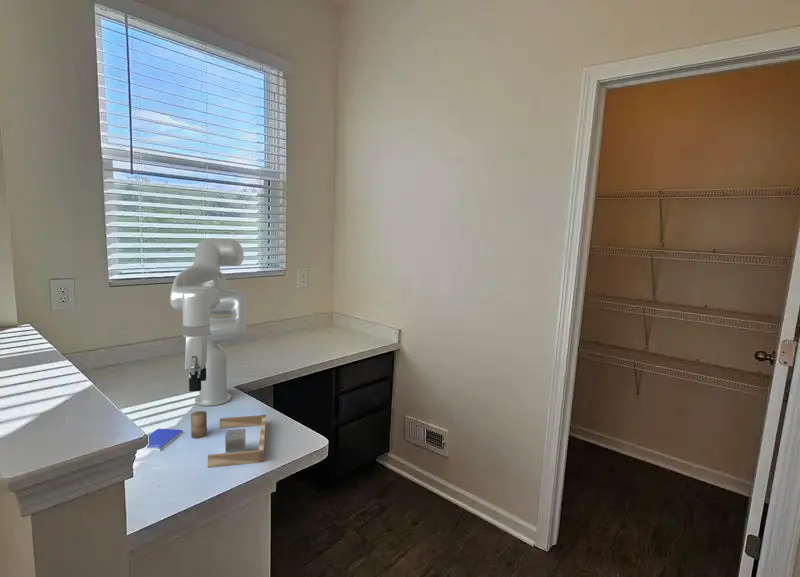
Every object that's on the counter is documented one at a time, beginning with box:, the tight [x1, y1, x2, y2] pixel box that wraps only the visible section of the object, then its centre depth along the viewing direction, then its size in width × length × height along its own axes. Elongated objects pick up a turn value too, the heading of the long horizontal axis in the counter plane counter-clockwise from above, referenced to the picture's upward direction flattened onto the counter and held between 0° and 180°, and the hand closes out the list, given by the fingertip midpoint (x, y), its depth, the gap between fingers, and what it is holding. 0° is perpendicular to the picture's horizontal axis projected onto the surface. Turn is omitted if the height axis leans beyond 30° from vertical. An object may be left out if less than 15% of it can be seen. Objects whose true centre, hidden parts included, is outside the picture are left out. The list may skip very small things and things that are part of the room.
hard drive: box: [142, 428, 183, 452], centre depth 134 cm, size 2×8×12 cm
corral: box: [207, 414, 267, 468], centre depth 134 cm, size 26×14×3 cm, turn 15°
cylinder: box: [190, 410, 208, 440], centre depth 138 cm, size 4×4×7 cm
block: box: [224, 428, 247, 453], centre depth 128 cm, size 4×5×6 cm
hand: (198, 385), depth 137 cm, fingers open, 9 cm apart
